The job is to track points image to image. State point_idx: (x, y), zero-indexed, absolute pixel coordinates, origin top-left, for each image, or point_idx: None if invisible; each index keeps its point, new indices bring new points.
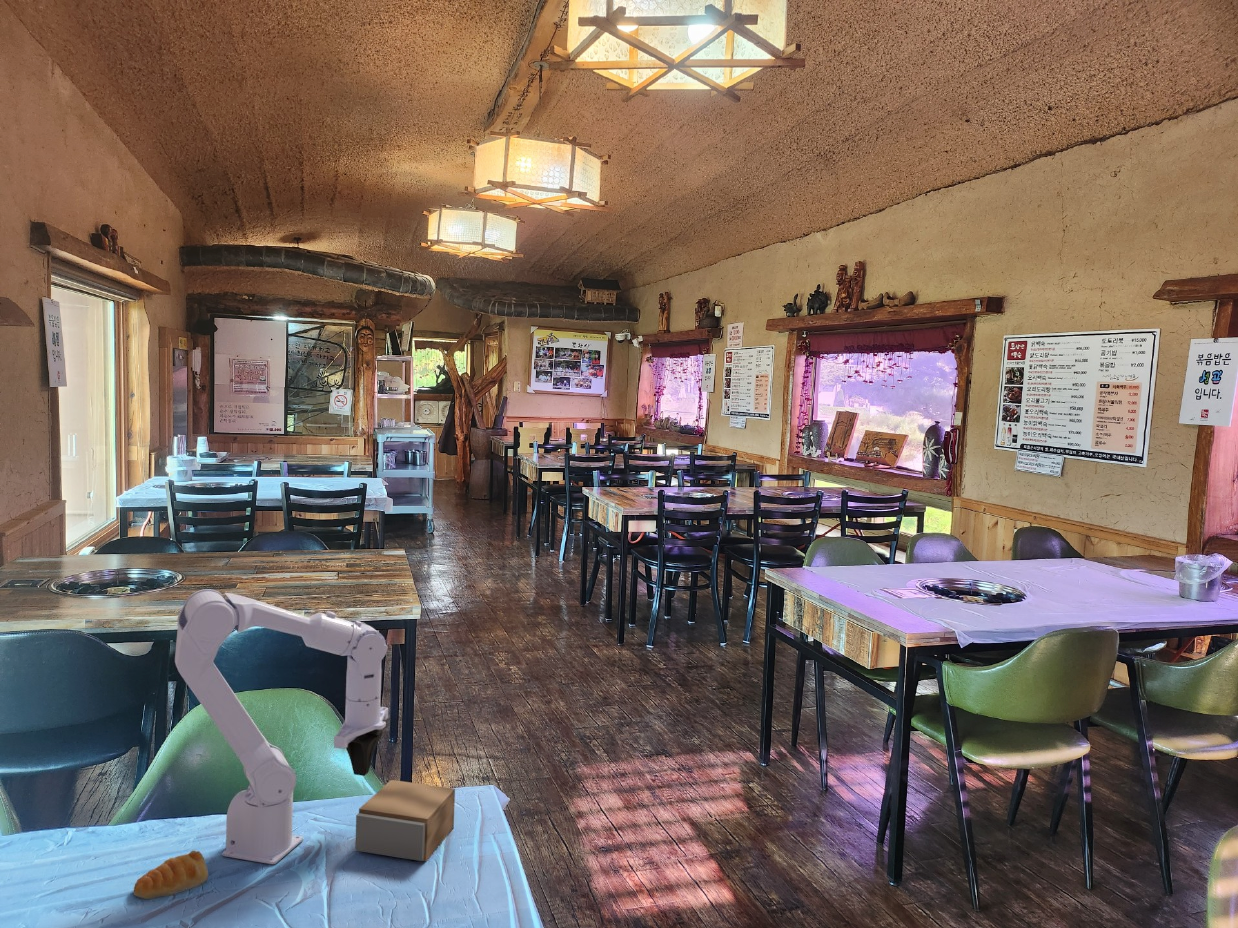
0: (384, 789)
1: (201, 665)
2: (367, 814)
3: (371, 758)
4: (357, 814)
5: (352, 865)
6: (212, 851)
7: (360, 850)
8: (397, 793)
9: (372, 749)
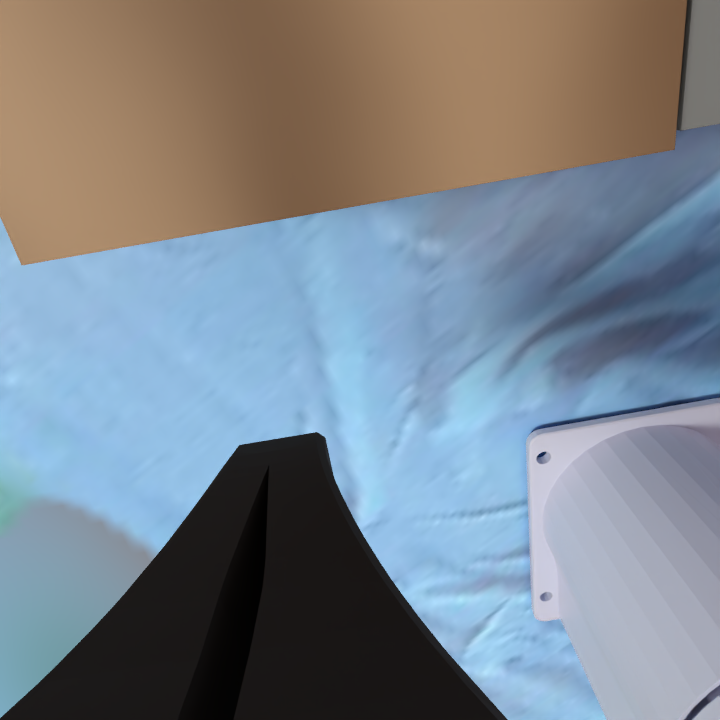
0: (228, 188)
1: None
2: (690, 27)
3: (190, 542)
4: (703, 125)
5: None
6: None
7: None
8: None
9: (178, 671)
